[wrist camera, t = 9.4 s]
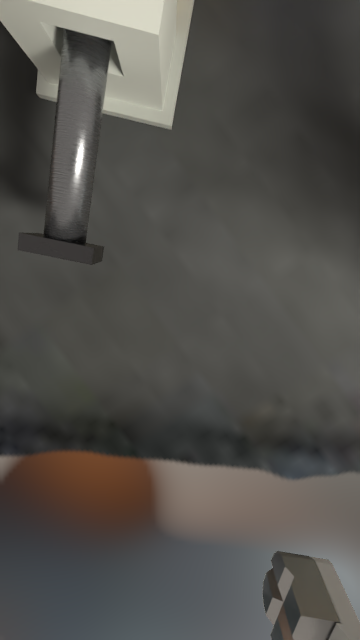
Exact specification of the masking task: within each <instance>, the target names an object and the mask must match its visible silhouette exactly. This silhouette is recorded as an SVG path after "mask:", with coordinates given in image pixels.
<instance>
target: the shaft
mask: <svg viewBox="0 0 360 640" xmlns="http://www.w3.org/2000/svg"><path fill="white" fill-rule="evenodd" d="M111 44H112V41H111V40H107V39H104V38H100V37H96V36H92V35H88V34H84V33H81V32H77V31H73V30H69V29H65V28H64V33H63V43H62V54H61V64H60V74H59V84H58V94H57V104H56V115H55V125H54V135H53V145H52V155H51V165H50V176H49V186H48V196H47V206H46V216H45V226H44V234H40V233H19V240H18V250H21V251H26V252H31V253H36V254H41V255H46V256H51V257H55V258H60V259H65V260H70V261H75V262H80V263H85V264H90V265H92V264H95V263H98V262H101V261H102V257H103V250H104V247H103V246H98V245H94V244H89V243H86V236H87V228H88V221H89V213H90V205H91V198H92V190H93V182H94V175H95V167H96V159H97V152H98V144H99V136H100V129H101V121H102V113H103V106H104V98H105V90H106V83H107V75H108V67H109V59H110V52H111Z"/></svg>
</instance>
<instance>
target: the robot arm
mask: <svg viewBox="0 0 360 640" xmlns="http://www.w3.org/2000/svg"><path fill="white" fill-rule="evenodd" d="M271 562H272V566H273V568H272V569H271V570H269V571H268V572H267V573H266V575H265V579H264V581H263V603H264V608H265V613H266V616H267V617H268V618H269V620H270V621H271V622H272V624H273V625H274V626H273V629H272V632H271V640H360V622H359V620H358V618H357V616H356V614H355V611H354V609H353V607H352V605H351V603H350V601H349V598H348V596H347V594H346V592H345V590H344V588H343V586H342V584H341V581H340V579H339V577H338V575H337V573H336V571H335V569H334V567H333V565H332V563H331V562H330V561H329V560H326V559H320V558H315V557H309V556H304V555H298V554H291V553H285V552H279V551H277V552H276V553H274V554H273V557H272V559H271Z"/></svg>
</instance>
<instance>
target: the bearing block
mask: <svg viewBox="0 0 360 640" xmlns="http://www.w3.org/2000/svg"><path fill="white" fill-rule="evenodd" d="M193 6H194V0H0V21H1V22H2V24H3V25H4V26H5V28H6V29H7V30H8V31H9V33H10V34H11V35H12V37H13V38H14V39H15V40H16V42H17V43H18V44H19V46H20V47H21V48H22V49H23V51H24V52H25V53H26V55H27V56H28V57H29V58H30V60H31V61H32V62H33V64H34V65H35V66H36V67H37V69H38V75H37V87H36V94H37V95H38V96H39V97H40V98H42V99H46V100H50V101H54V102H57V94H58V84H59V74H60V64H61V54H62V43H63V33H64V28H65V29H69V30H73V31H77V32H81V33H84V34H88V35H92V36H96V37H100V38H104V39H107V40H111V41H112V44H111V52H110V59H109V67H108V75H107V83H106V90H105V98H104V106H103V113H104V114H108V115H112V116H116V117H120V118H125V119H129V120H133V121H137V122H141V123H145V124H150V125H154V126H158V127H162V128H166V129H170V130H171V129H172V123H173V117H174V112H175V106H176V101H177V95H178V90H179V84H180V78H181V73H182V67H183V62H184V56H185V50H186V45H187V39H188V34H189V28H190V22H191V17H192V11H193Z"/></svg>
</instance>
